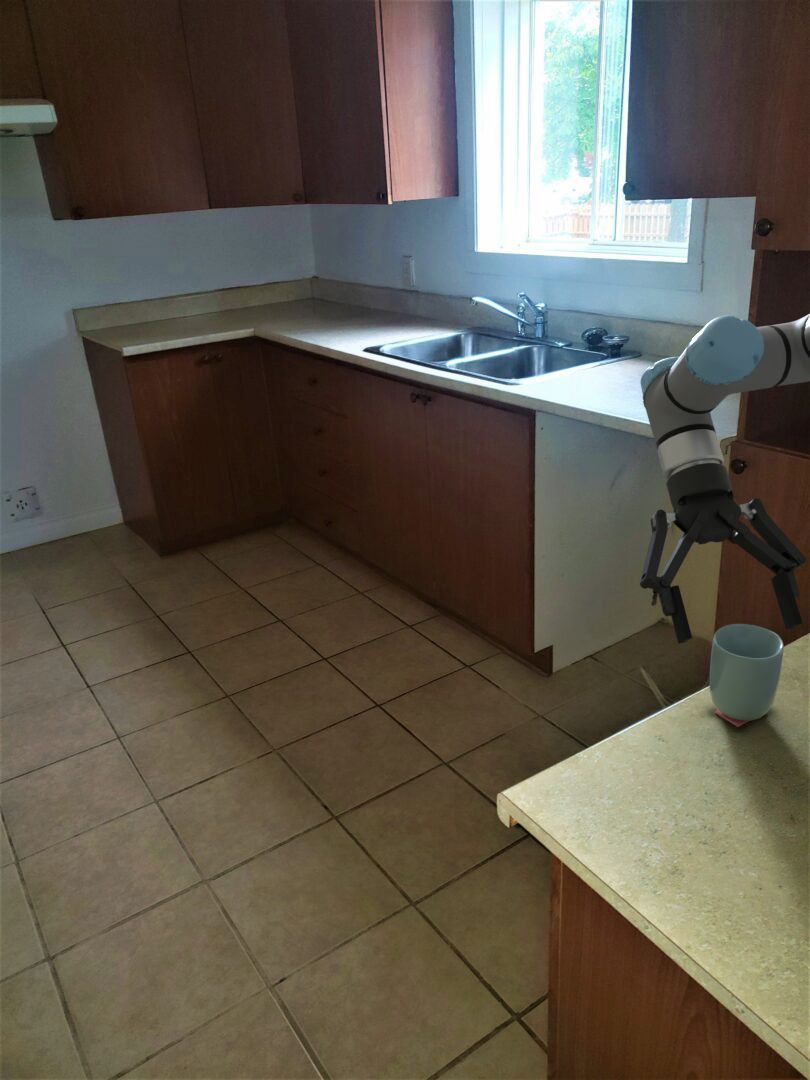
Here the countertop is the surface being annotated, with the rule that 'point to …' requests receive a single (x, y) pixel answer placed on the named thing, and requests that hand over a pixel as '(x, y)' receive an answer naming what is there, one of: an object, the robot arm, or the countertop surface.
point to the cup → (745, 670)
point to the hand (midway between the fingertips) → (740, 634)
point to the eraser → (731, 719)
